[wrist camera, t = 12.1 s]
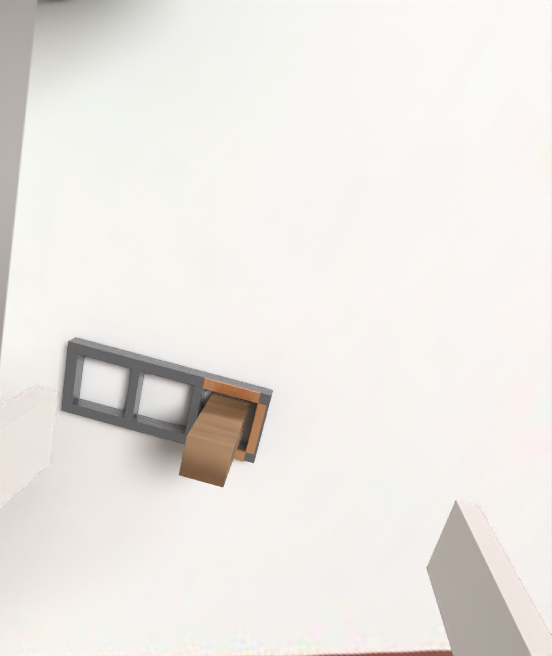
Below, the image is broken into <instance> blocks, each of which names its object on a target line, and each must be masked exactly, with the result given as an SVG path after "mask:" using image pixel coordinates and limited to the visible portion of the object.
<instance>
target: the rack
mask: <svg viewBox="0 0 552 656" xmlns="http://www.w3.org/2000/svg"><path fill="white" fill-rule="evenodd" d="M84 356H87V357H91V358H95V359H98V360H102V361H106V362H109V363H113V364H117V365H121V366H124V367H128V368H132V370H131V377H130V383H129V390H128V396H127V403H126V409H125V411H123V410H119V409H115V408H112V407H108V406H104V405H101V404H97V403H93V402H90V401H86V400H82V399H79V396H80V387H81V379H82V371H83V362H84ZM144 372H147V373H150V374H154V375H158V376H161V377H165V378H169V379H173V380H176V381H180V382H184V383H187V384H191V385H195V386H194V391H193V396H192V401H191V406H190V411H189V416H188V421H187V426H186V428H185V427H181V426H178V425H174V424H170V423H167V422H163V421H159V420H156V419H152V418H148V417H145V416H141V415H138V409H139V402H140V396H141V390H142V384H143V378H144ZM205 389H207V390H210V391H214V392H218V393H222V394H225V395H229V396H233V397H236V398H240V399H244V400H248V401H251V402H255V403H258V405H257V409H256V413H255V417H254V421H253V425H252V429H251V433H250V437H249V441H248V445H247V444H244V443H240V442H239V445H238V447H237V450H236V453H235V456H234V459H237V460H240V461H248V462H251V463H254V461H255V457H256V453H257V449H258V445H259V442H260V438H261V434H262V430H263V426H264V422H265V419H266V415H267V411H268V407H269V403H270V399H271V396H272V392H273V390H270V389H266V388H263V387H259V386H255V385H251V384H248V383H244V382H240V381H237V380H233V379H229V378H225V377H222V376H218V375H214V374H210V373H207V372H203V371H199V370H195V369H192V368H188V367H184V366H180V365H177V364H173V363H169V362H166V361H162V360H158V359H154V358H151V357H147V356H143V355H139V354H136V353H132V352H128V351H124V350H121V349H117V348H113V347H109V346H106V345H102V344H98V343H95V342H91V341H87V340H83V339H80V338H74V339H72V340H70V341H69V342H68V351H67V361H66V370H65V380H64V389H63V398H62V408H61V410H62V411H65V412H69V413H73V414H76V415H80V416H84V417H87V418H91V419H95V420H98V421H102V422H105V423H109V424H113V425H116V426H120V427H124V428H127V429H131V430H135V431H138V432H142V433H146V434H149V435H153V436H157V437H160V438H164V439H167V440H171V441H175V442H178V443H182V444H185V443H186V438H187V435H188V433H189V431H190V430H191V428H192V426H193V425H194V423H195V421H196V420H197V418H198V416H199V415H200V411H201V407H202V402H203V397H204V392H205Z"/></svg>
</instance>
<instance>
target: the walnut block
mask: <svg viewBox="0 0 552 656" xmlns="http://www.w3.org/2000/svg"><path fill="white" fill-rule="evenodd" d="M249 404H250V402H246V401H243V400H239V399H235V398H231V397H228V396H224V395H220V394H217V393H212V395H211V397H210V398H209V400H208V402H207V403H206V405H205V407H204V408H203V410H202V412H201V413H200V415H199V416H198V418H197V420H196V421H195V423H194V425H193V426H192V428H191V430H190V431H189V433H188V435H187V438H186V443H185V448H184V452H183V457H182V462H181V467H180V472H179V475H180V476H184V477H187V478H191V479H195V480H198V481H202V482H205V483H209V484H213V485H216V486H220V487H224V484H225V481H226V478H227V475H228V473H229V470H230V467H231V464H232V461H233V459H234V456H235V453H236V450H237V447H238V445H239V442H240V439H241V436H242V432H243V428H244V424H245V420H246V416H247V412H248V408H249Z"/></svg>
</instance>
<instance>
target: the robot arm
mask: <svg viewBox="0 0 552 656" xmlns="http://www.w3.org/2000/svg"><path fill="white" fill-rule="evenodd" d="M57 398H58V391H57V390H53V389H50V388H46V387H42V386H39V385H35V386H33V387H31V388H29V389H28V390H26V391H24V392H23V393H21V394H19V395H18V396H16V397H14V398H12V399H11V400H9V401H7V402H6V403H4V404H2V405H1V406H0V509H1V508H2V507H3V506H4V505H5V504H6V503H7V502H8V501H9V500H10V499H12V498H13V497H14V496H15V495H16V494H17V493H18V492H19V491H20V490H21V489H23V488H24V487H25V486H26V485H27V484H28V483H29V482H30V481H31V480H32V479H33V478H35V477H36V476H37V475H38V474H39V473H40V472H41V471H42V470H43V469H44V468H46V467H47V466H48V465H49V464H50V463H51V456H52V447H53V437H54V427H55V418H56V408H57ZM427 571H428V575H429V578H430V581H431V584H432V588H433V591H434V594H435V597H436V601H437V604H438V607H439V611H440V614H441V617H442V620H443V624H444V627H445V630H446V633H447V637H448V640H449V643H450V647H451V650H452V653H453V656H552V634H551V633H550V631H549V629H548V627H547V626H546V624H545V622H544V620H543V618H542V617H541V615H540V613H539V611H538V609H537V608H536V606H535V604H534V602H533V601H532V599H531V597H530V595H529V593H528V592H527V590H526V588H525V586H524V584H523V583H522V581H521V579H520V577H519V575H518V574H517V572H516V570H515V568H514V566H513V565H512V563H511V561H510V559H509V557H508V556H507V554H506V552H505V550H504V548H503V547H502V545H501V543H500V541H499V539H498V538H497V536H496V534H495V532H494V530H493V529H492V527H491V525H490V523H489V521H488V520H487V518H486V516H485V514H484V513H483V511H482V509H481V507H480V506H477V505H473V504H470V503H466V502H462V501H459V500H456V501H455V503H454V506H453V508H452V510H451V513H450V515H449V517H448V519H447V522H446V524H445V526H444V529H443V531H442V533H441V536H440V538H439V540H438V542H437V545H436V547H435V549H434V552H433V554H432V556H431V559H430V561H429V563H428V566H427Z"/></svg>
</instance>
